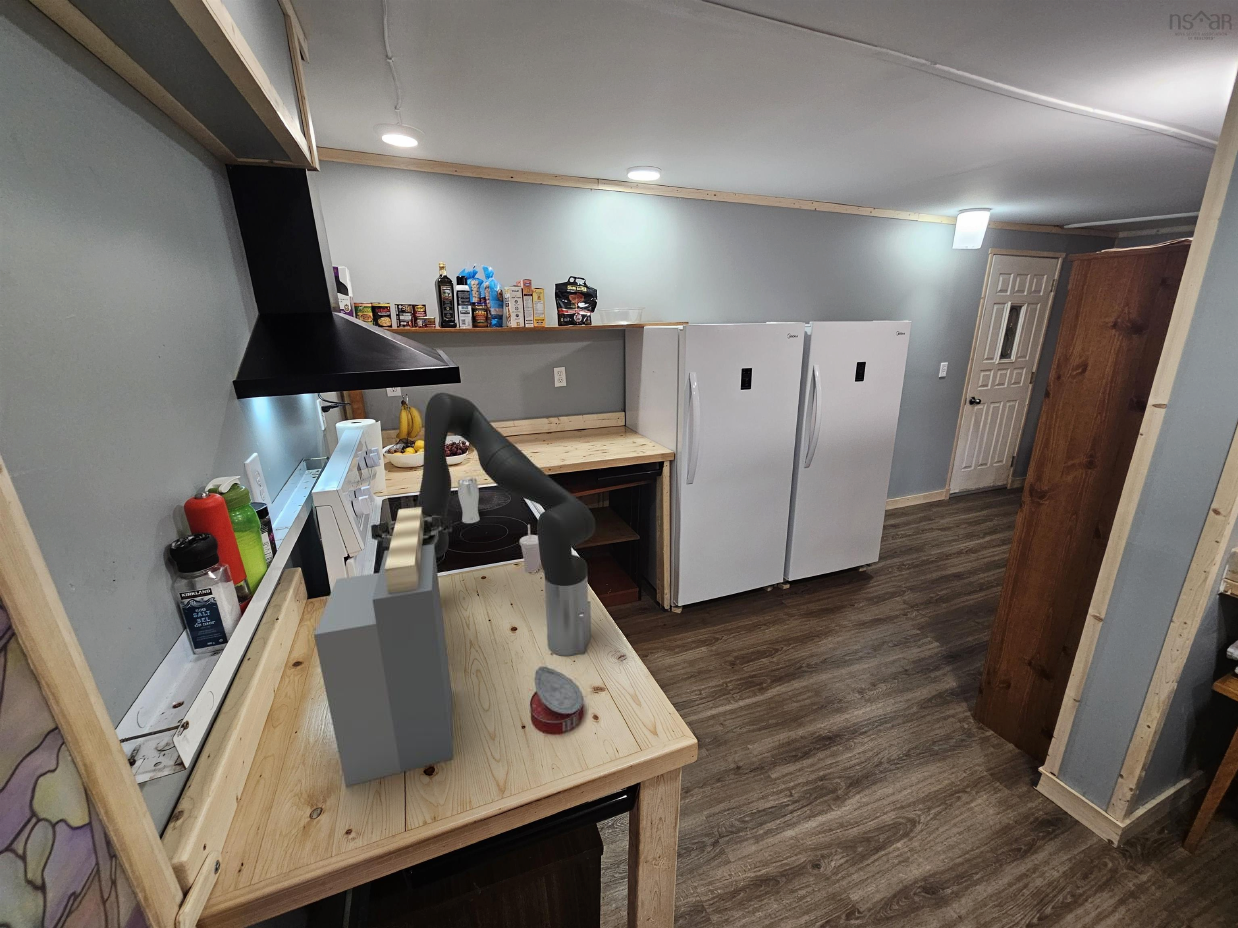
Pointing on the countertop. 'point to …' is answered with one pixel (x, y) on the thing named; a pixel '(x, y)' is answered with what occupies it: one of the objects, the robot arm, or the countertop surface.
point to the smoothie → (530, 551)
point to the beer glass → (469, 499)
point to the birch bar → (405, 551)
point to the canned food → (555, 702)
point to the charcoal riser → (386, 673)
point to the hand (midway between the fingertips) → (409, 523)
